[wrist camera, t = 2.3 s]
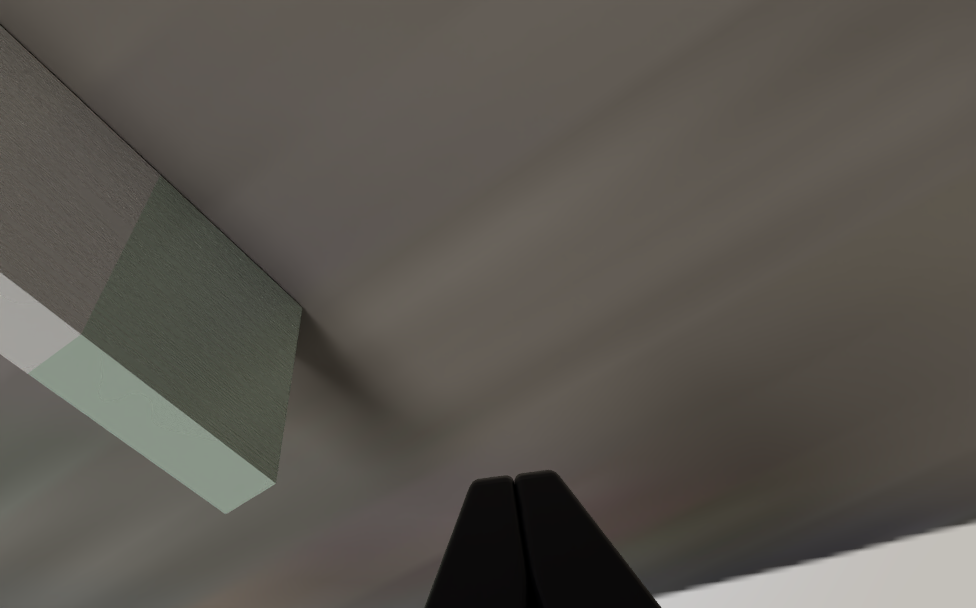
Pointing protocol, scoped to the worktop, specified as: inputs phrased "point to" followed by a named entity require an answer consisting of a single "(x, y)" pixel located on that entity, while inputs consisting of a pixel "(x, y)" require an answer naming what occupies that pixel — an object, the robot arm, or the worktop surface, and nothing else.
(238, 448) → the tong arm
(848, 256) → the worktop surface
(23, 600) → the worktop surface
